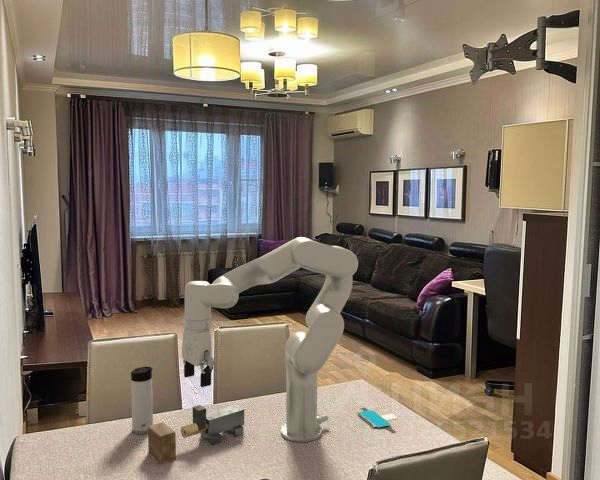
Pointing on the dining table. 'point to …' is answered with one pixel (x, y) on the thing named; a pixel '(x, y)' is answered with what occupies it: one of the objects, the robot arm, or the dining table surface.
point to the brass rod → (196, 423)
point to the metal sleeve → (224, 423)
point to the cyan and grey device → (376, 419)
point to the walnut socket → (162, 443)
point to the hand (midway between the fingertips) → (197, 381)
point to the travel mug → (141, 399)
